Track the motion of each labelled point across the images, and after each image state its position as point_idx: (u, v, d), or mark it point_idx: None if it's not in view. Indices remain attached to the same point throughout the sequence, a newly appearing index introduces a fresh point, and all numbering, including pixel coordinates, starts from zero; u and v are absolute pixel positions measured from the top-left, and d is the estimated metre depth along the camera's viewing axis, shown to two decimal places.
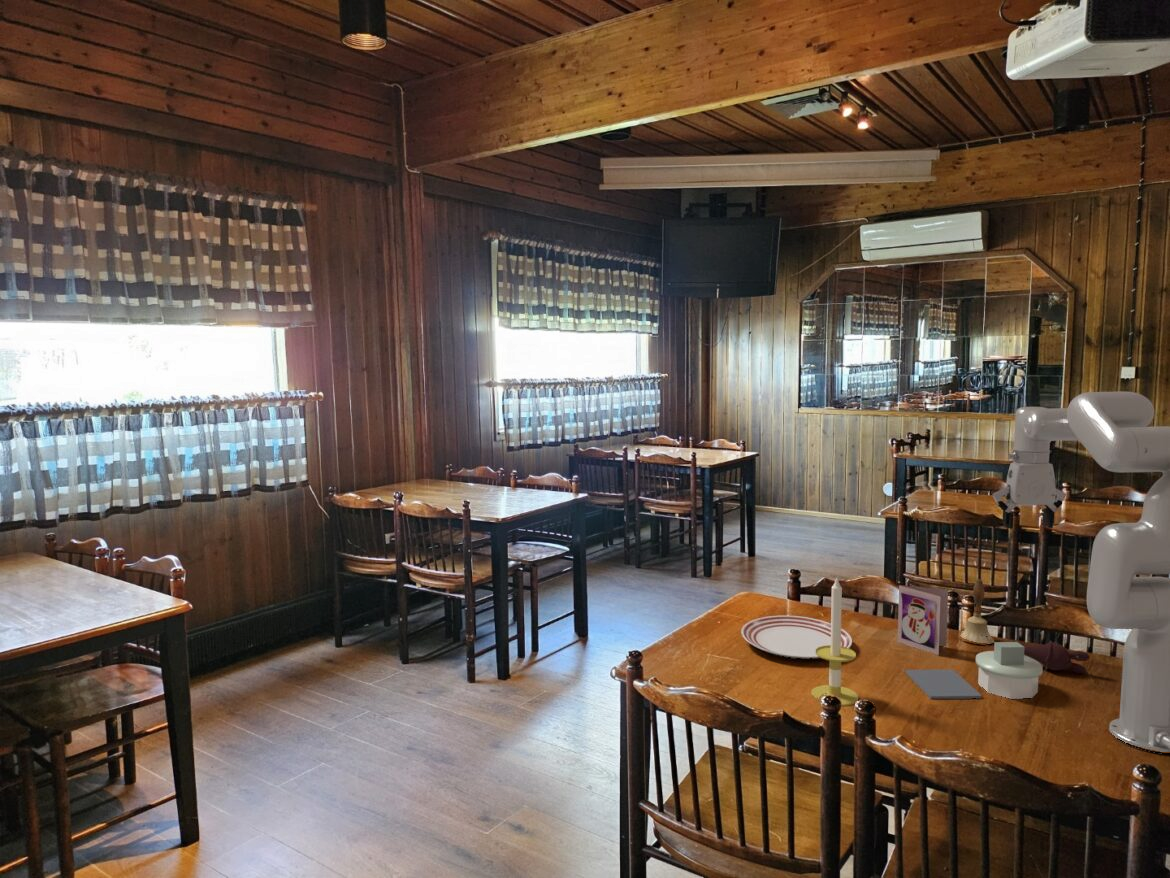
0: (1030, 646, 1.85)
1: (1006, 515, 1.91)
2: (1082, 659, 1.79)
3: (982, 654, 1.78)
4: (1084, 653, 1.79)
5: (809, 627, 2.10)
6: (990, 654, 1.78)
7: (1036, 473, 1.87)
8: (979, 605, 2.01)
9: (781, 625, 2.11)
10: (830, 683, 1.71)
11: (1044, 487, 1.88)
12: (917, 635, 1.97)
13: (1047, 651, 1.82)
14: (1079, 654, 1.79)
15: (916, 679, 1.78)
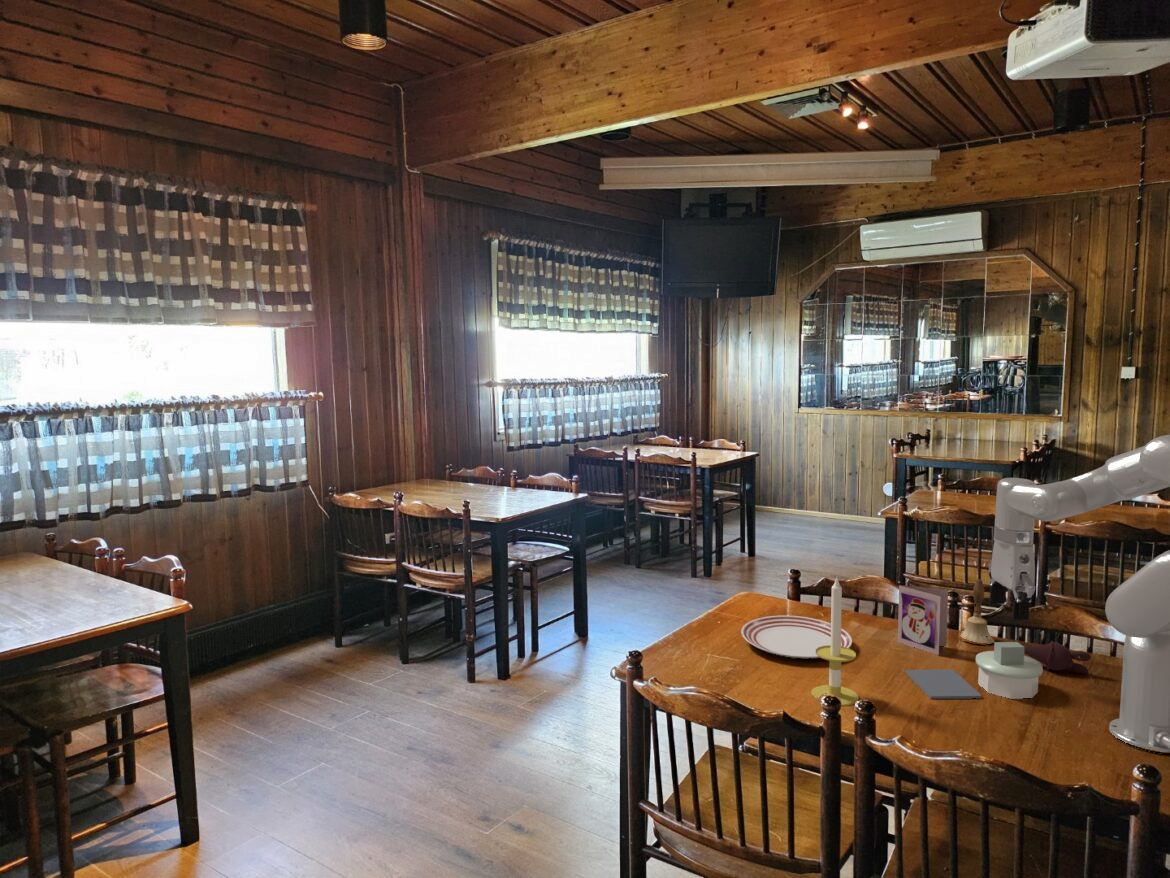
0: (1032, 646, 1.85)
1: (1027, 606, 1.66)
2: (1084, 659, 1.79)
3: (982, 654, 1.78)
4: (1086, 653, 1.79)
5: (809, 627, 2.10)
6: (990, 654, 1.78)
7: None
8: (979, 605, 2.01)
9: (781, 625, 2.11)
10: (830, 683, 1.71)
11: None
12: (917, 635, 1.97)
13: (1048, 651, 1.82)
14: (1081, 654, 1.79)
15: (916, 679, 1.78)
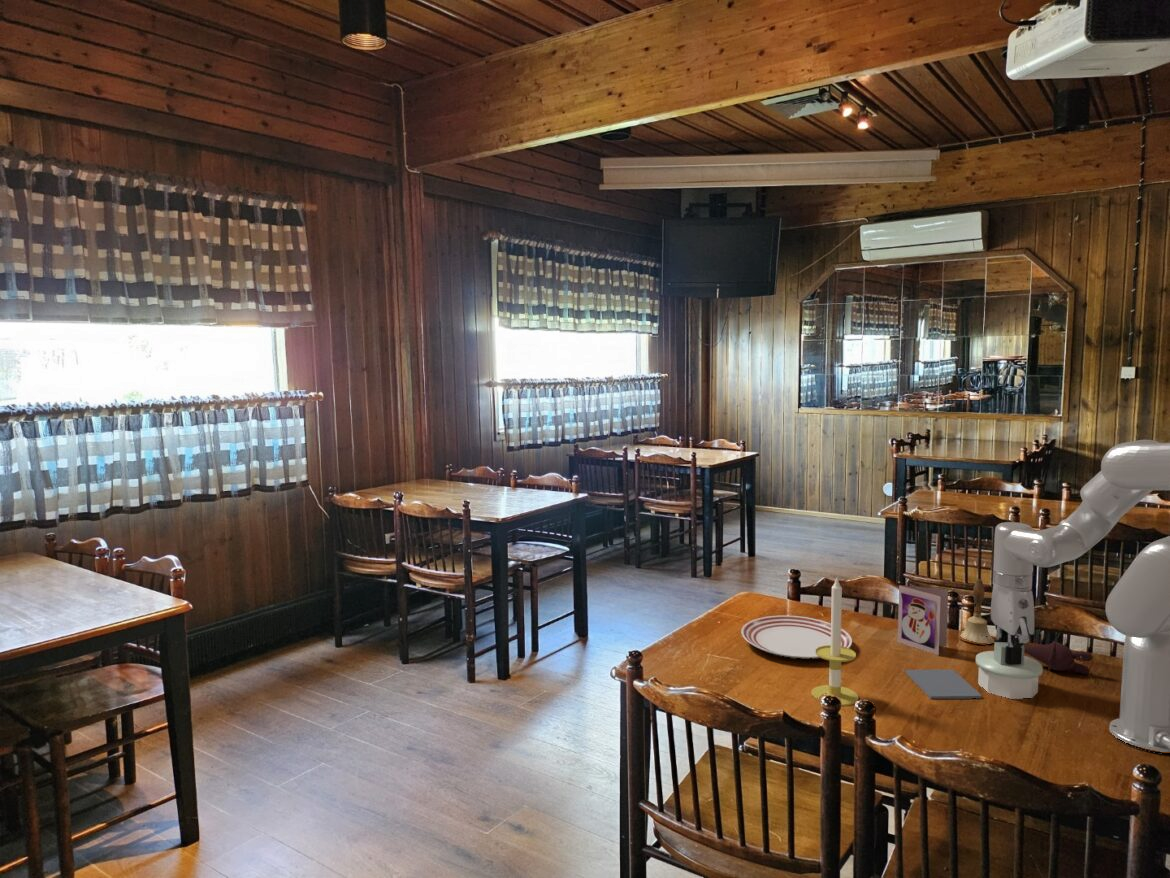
0: (1033, 646, 1.85)
1: (1019, 651, 1.70)
2: (1085, 659, 1.79)
3: (982, 654, 1.78)
4: (1087, 653, 1.79)
5: (809, 627, 2.10)
6: (990, 654, 1.78)
7: None
8: (979, 605, 2.01)
9: (781, 625, 2.11)
10: (830, 683, 1.71)
11: None
12: (917, 635, 1.97)
13: (1050, 651, 1.82)
14: (1082, 654, 1.79)
15: (916, 679, 1.78)
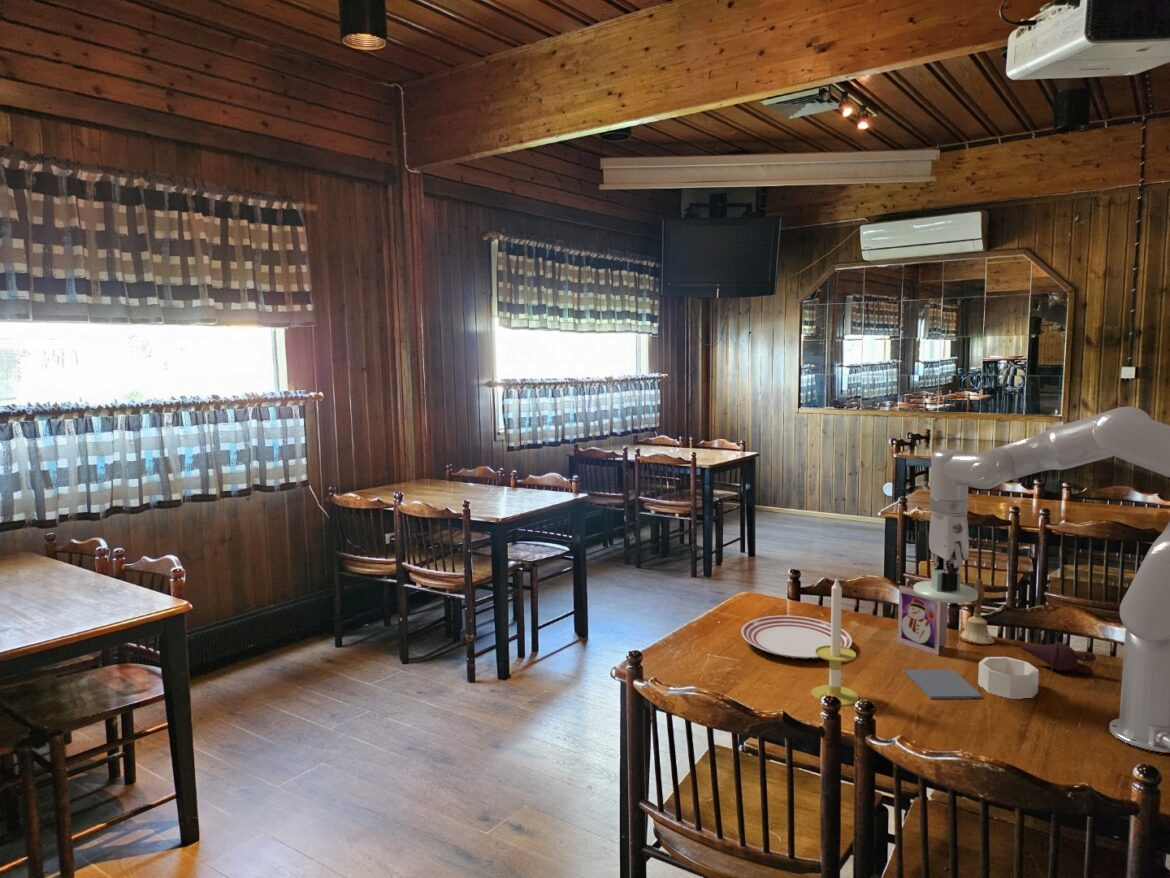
0: (1036, 646, 1.85)
1: (955, 577, 1.70)
2: (1088, 660, 1.79)
3: (920, 583, 1.78)
4: (1090, 654, 1.78)
5: (809, 627, 2.10)
6: (928, 583, 1.78)
7: None
8: (979, 605, 2.01)
9: (781, 625, 2.11)
10: (830, 683, 1.71)
11: None
12: (917, 635, 1.97)
13: (1053, 651, 1.82)
14: (1085, 655, 1.79)
15: (916, 679, 1.78)
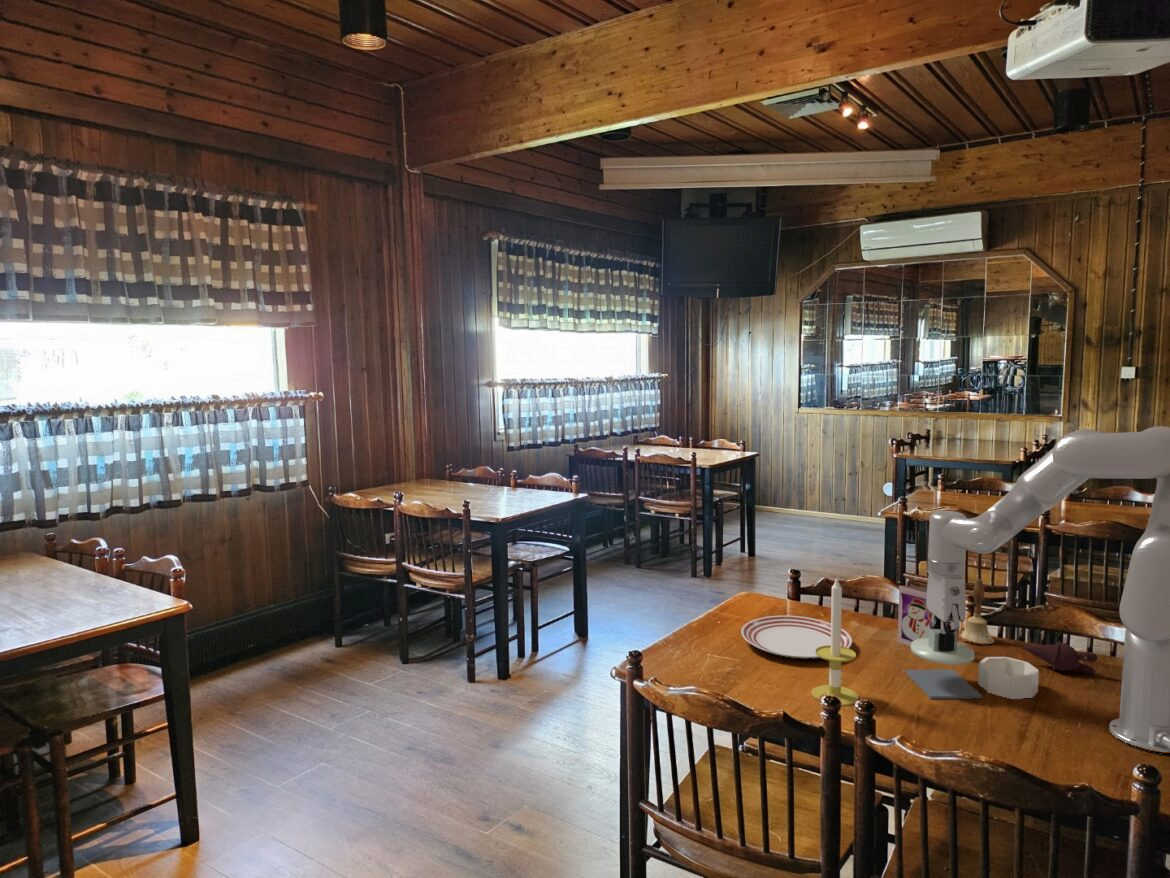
0: (1038, 646, 1.85)
1: (951, 638, 1.72)
2: (1090, 660, 1.78)
3: (918, 641, 1.80)
4: (1092, 654, 1.78)
5: (809, 627, 2.10)
6: (925, 640, 1.80)
7: None
8: (979, 605, 2.01)
9: (781, 625, 2.11)
10: (830, 683, 1.71)
11: None
12: (917, 635, 1.97)
13: (1055, 651, 1.81)
14: (1087, 655, 1.78)
15: (916, 679, 1.78)
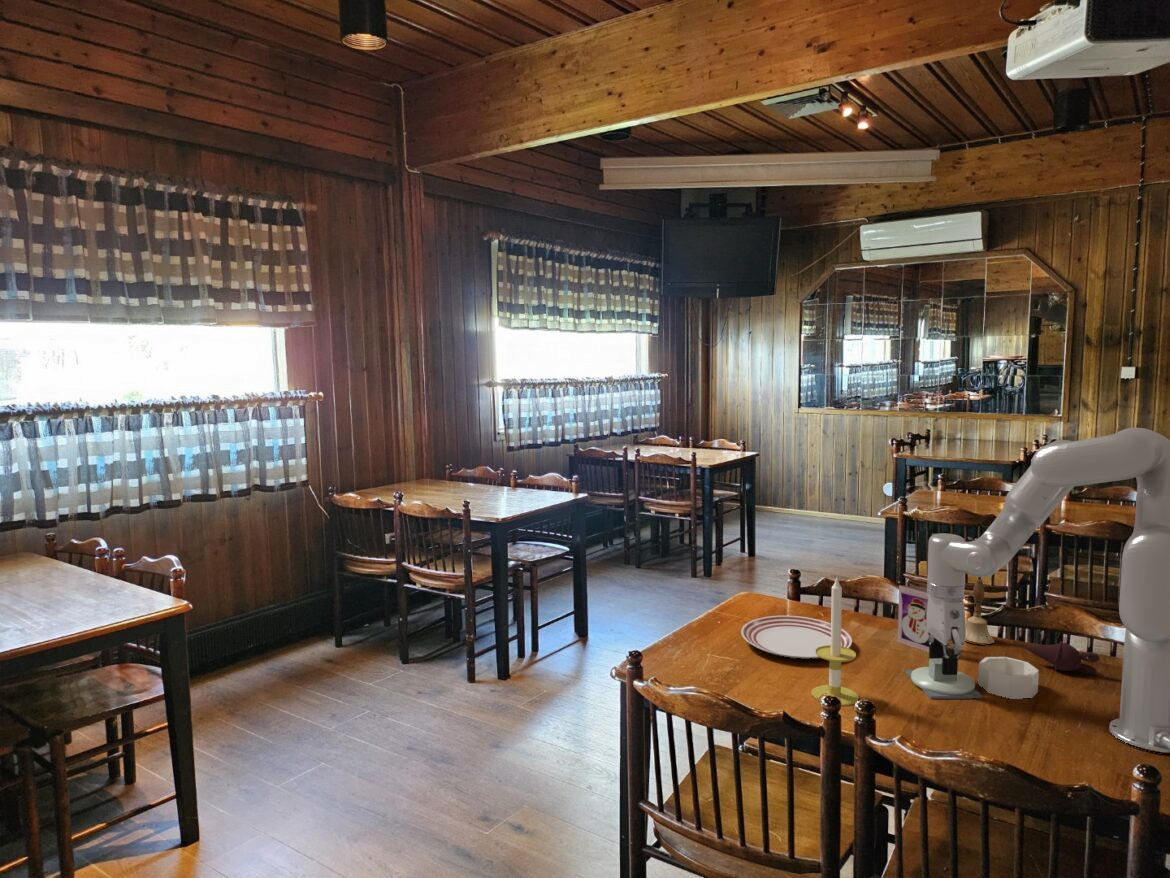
0: (1040, 646, 1.85)
1: (955, 661, 1.71)
2: (1092, 660, 1.78)
3: (918, 670, 1.80)
4: (1094, 654, 1.78)
5: (809, 627, 2.10)
6: (926, 670, 1.80)
7: None
8: (979, 605, 2.01)
9: (781, 626, 2.11)
10: (830, 683, 1.71)
11: None
12: (917, 635, 1.97)
13: (1056, 651, 1.81)
14: (1089, 655, 1.78)
15: None
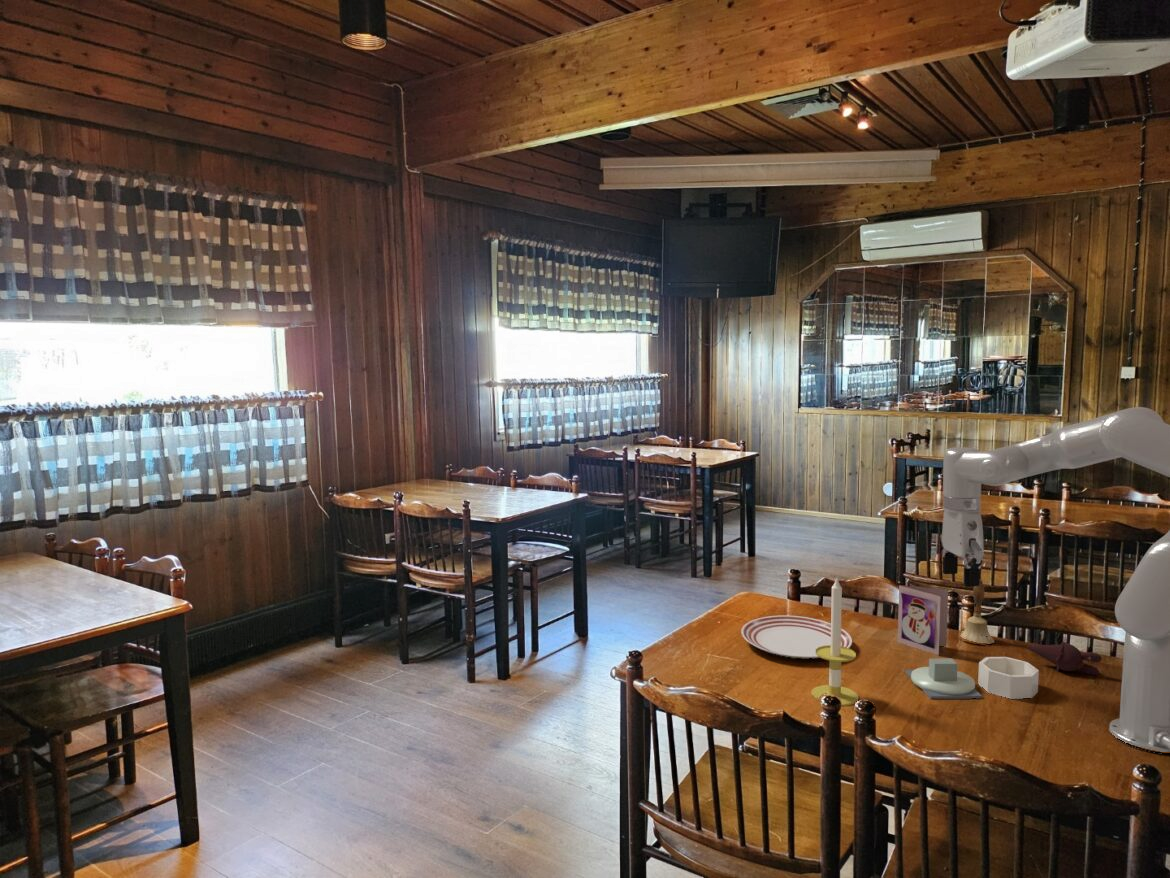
0: (1042, 646, 1.85)
1: (977, 572, 1.68)
2: (1094, 660, 1.78)
3: (918, 670, 1.80)
4: (1096, 654, 1.78)
5: (809, 627, 2.10)
6: (926, 670, 1.80)
7: None
8: (979, 605, 2.01)
9: (781, 625, 2.11)
10: (830, 683, 1.71)
11: None
12: (917, 635, 1.97)
13: (1058, 651, 1.81)
14: (1091, 655, 1.78)
15: None
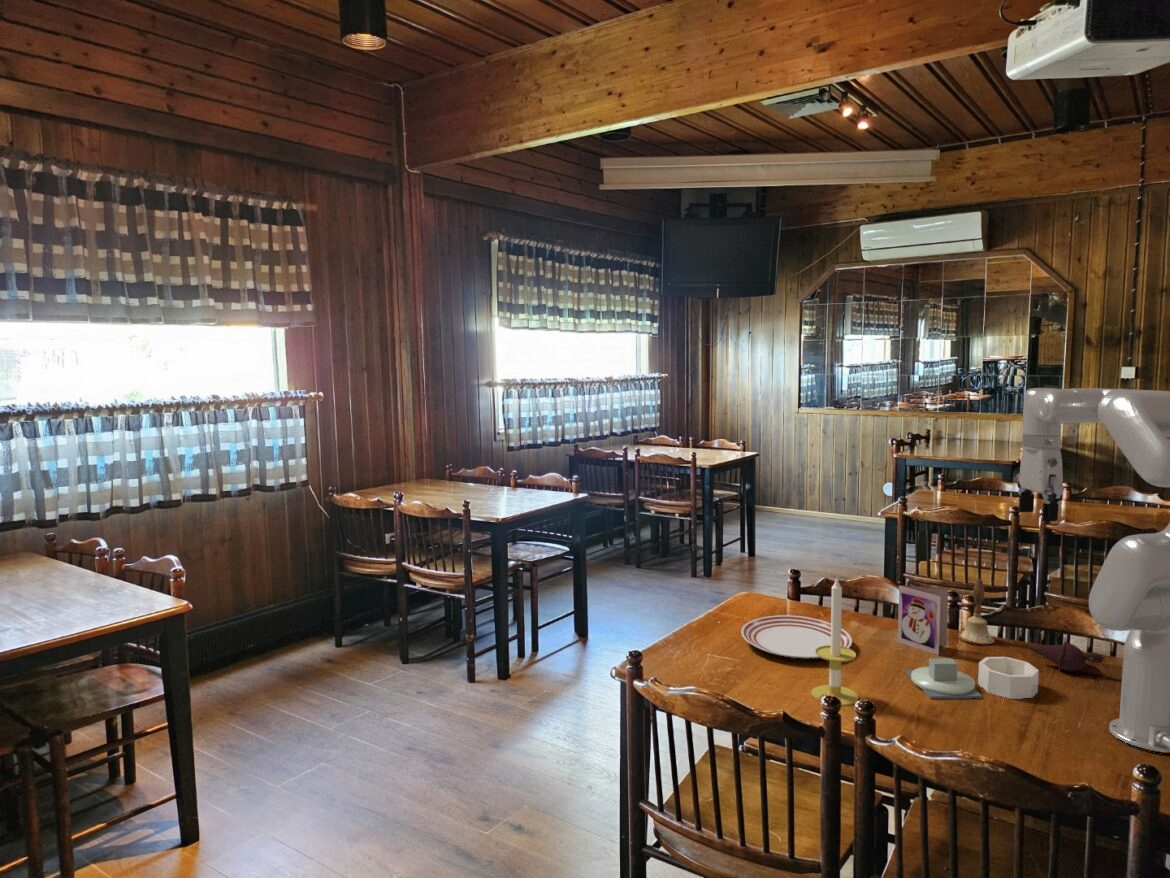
0: (1044, 646, 1.85)
1: (1056, 507, 1.74)
2: (1096, 661, 1.78)
3: (918, 670, 1.80)
4: (1098, 655, 1.78)
5: (809, 627, 2.10)
6: (926, 670, 1.80)
7: None
8: (979, 605, 2.01)
9: (781, 625, 2.11)
10: (830, 683, 1.71)
11: None
12: (917, 635, 1.97)
13: (1060, 651, 1.81)
14: (1093, 655, 1.78)
15: None
